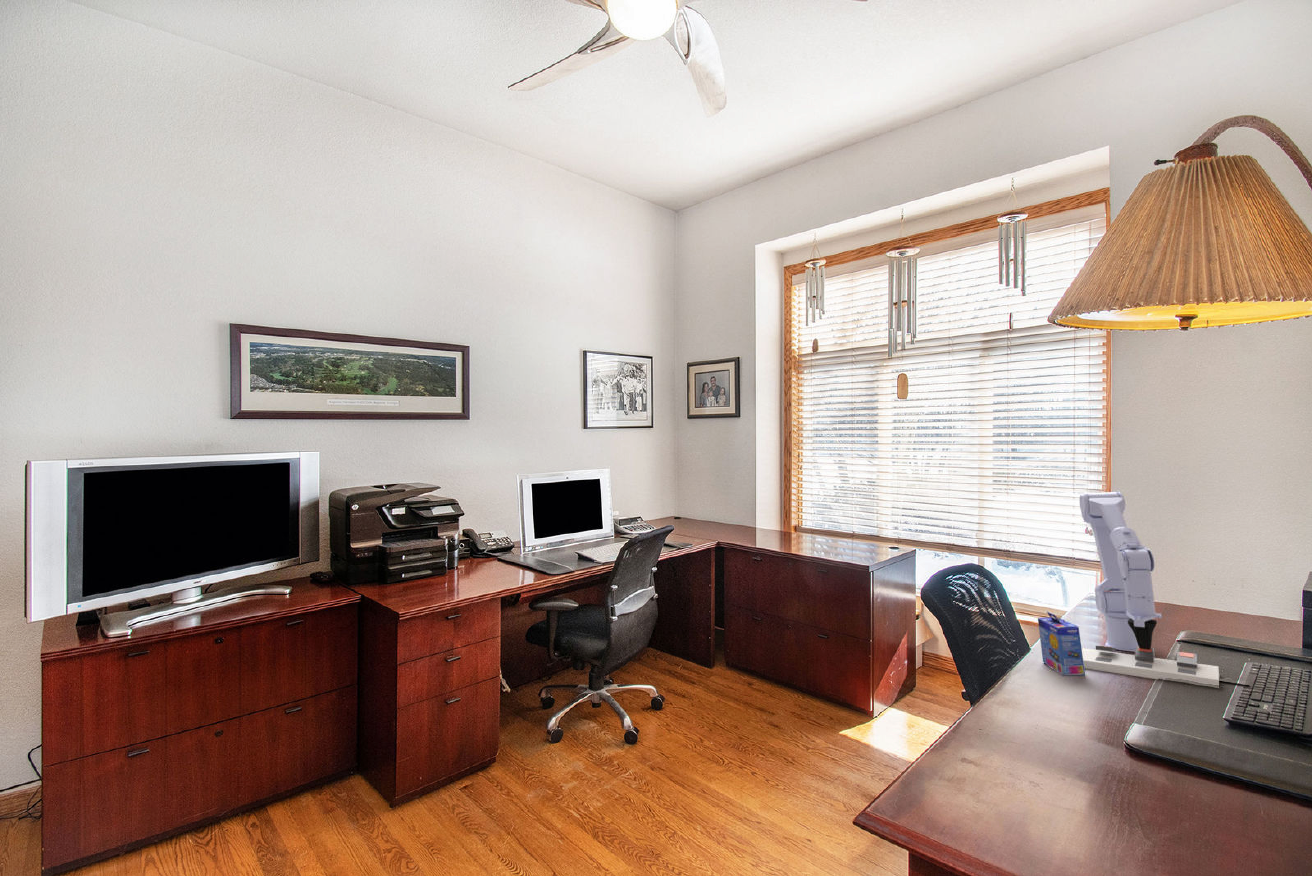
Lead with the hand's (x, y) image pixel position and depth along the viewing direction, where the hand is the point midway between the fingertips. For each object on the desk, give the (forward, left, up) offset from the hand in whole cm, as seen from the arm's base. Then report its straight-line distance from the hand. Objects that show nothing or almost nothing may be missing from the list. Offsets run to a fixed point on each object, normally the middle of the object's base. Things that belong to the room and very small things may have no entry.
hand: (1145, 648), depth 150 cm
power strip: (+4, +3, -4) cm, 7 cm away
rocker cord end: (+2, +8, -1) cm, 8 cm away
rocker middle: (+2, 0, -1) cm, 2 cm away
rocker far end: (+2, -8, -1) cm, 8 cm away
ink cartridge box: (+13, -16, -5) cm, 21 cm away
